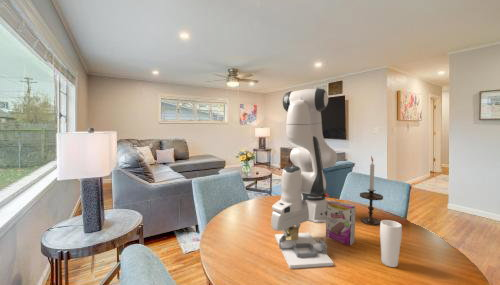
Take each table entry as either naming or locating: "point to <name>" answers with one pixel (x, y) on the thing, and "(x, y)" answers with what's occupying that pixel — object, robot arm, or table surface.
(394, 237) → the white cup
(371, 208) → the candlestick
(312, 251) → the shaft bench
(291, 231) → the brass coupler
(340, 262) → the table surface
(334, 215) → the candy bar box
